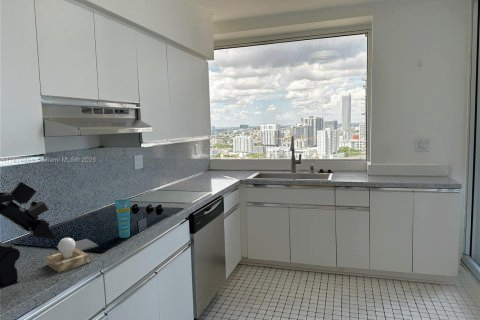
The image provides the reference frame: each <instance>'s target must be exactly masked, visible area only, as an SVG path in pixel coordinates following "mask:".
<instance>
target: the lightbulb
mask: <svg viewBox="0 0 480 320" xmlns="http://www.w3.org/2000/svg"><path fill="white" fill-rule="evenodd" d="M75 245H76V244H75V240H74V239H73V238H72V237H64V238H62V239H61V240H59V242H58V244H57V246H58V248H57V249H58V251H59V253H62V254H63V257H64V260H67V259H70V258H72V252H73V250H74V249H75Z"/></svg>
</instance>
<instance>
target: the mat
mask: <svg viewBox="0 0 480 320" xmlns="http://www.w3.org/2000/svg"><path fill="white" fill-rule="evenodd" d="M74 241H75V240H74ZM75 244H76V245H75V249H76V248H77V249H79V250H81V251H83V252H84V251H87V250H90V249H95V248H98V247H99V244H97V243H95V242H93V241H92V240H90V239H88V238H84V239H81V240H76V241H75ZM55 248H56V249H58V245H56V246H55Z"/></svg>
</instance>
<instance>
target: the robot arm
mask: <svg viewBox="0 0 480 320" xmlns="http://www.w3.org/2000/svg"><path fill="white" fill-rule="evenodd" d="M37 193H38V191H37V190H36V189H34V188H33V187H31V186H29V185H27V184H26V183H24V182H22V181H19V182H18V183H17V184H16V186H15V187H14V188H12V190H11V191H10V192H8V191H7V192H6V191H5V192H4V191H3V192H1V191H0V216H2V217H3V218H5V219H7V220H9V221H10V222H12V223H14V224H15V225H17V227H19V228H21V229H22V230H24V231H25V232H29V234H30V235H33V236H34V237H36V238H40V239H50V240H56V239H57V236H56V235H55V233H53V232H52V230H51V229H50V227H49V226H50V222H49V221H47V220H45V219H44V218H40V217H39V216H40V215H42V214H44V212H47V211H49V207H48V205H47V203H46V202H45V201H38V202H37V201H35V200H33V201H31V202H30V200H31V199H33V197H34V195H36V194H37ZM14 201H15V202H14ZM29 202H30V203H29ZM28 203H29V204H30V205H29V208H27V209H26V208H25V207H24V208H23V207H22V206H20V205H22V204H23V205H25V204H28ZM19 204H20V205H19ZM20 256H21V251H20V250H19V249H18V247H16V245H14V244H12V243H10V242H9V241H6V242H0V288H5V287H7V286H11V285H14V284H17V283H18V279H19V277H18V276H19V274H18V269H17V267H16V262H17V261H18V260H19V259H20Z"/></svg>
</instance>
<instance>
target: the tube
mask: <svg viewBox="0 0 480 320" xmlns="http://www.w3.org/2000/svg"><path fill="white" fill-rule="evenodd" d="M114 204H115V210H116V216H117V224H118V225H117V226H118V227H117V228H118V233H119V234H118V235H119V236H118V237H119V238H122V239H125V238H129V237H130V233H131V231H130V228H131V226H130V223H131V221H130V218H131V217H130V215H131V214H130V213H131V210H130V209H131V207H130V206H131V198H123V199H114Z"/></svg>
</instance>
